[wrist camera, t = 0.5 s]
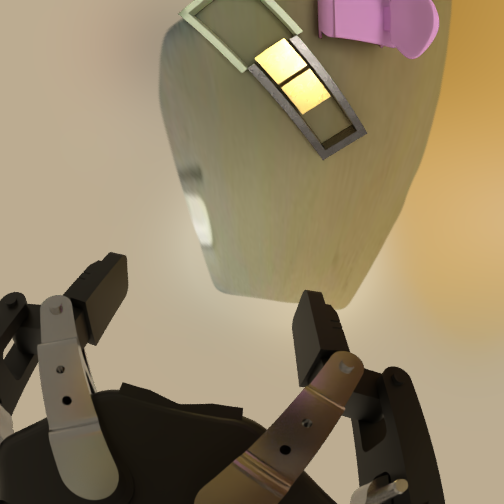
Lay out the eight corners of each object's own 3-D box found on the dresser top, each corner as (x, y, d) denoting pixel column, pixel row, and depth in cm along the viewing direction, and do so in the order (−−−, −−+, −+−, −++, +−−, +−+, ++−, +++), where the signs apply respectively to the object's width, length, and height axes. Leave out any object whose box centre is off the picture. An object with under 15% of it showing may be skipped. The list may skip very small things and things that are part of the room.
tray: (185, 16, 22) (178, 13, 20) (240, -26, 18) (238, -32, 16) (243, 71, 28) (241, 73, 25) (299, 32, 24) (303, 31, 21)
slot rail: (248, 67, 27) (247, 68, 25) (294, 36, 24) (296, 35, 22) (319, 152, 35) (323, 160, 33) (361, 127, 32) (367, 133, 30)
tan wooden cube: (279, 83, 29) (280, 87, 26) (305, 66, 27) (309, 68, 24) (298, 107, 31) (302, 114, 28) (323, 90, 29) (330, 96, 26)
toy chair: (312, -13, 19) (346, -48, 8) (382, -1, 18) (449, -13, 7) (314, 45, 25) (350, 45, 14) (382, 54, 24) (449, 70, 13)
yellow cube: (255, 57, 26) (254, 58, 23) (281, 39, 25) (283, 38, 22) (276, 80, 28) (278, 84, 26) (302, 63, 27) (307, 65, 24)
